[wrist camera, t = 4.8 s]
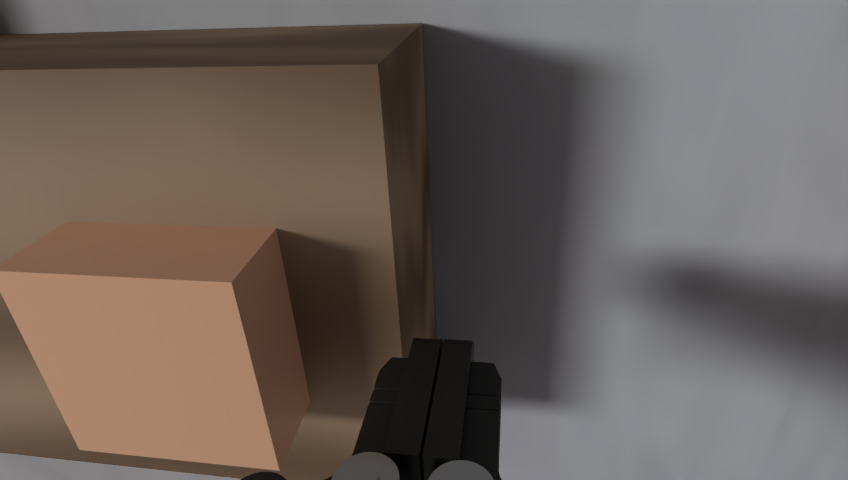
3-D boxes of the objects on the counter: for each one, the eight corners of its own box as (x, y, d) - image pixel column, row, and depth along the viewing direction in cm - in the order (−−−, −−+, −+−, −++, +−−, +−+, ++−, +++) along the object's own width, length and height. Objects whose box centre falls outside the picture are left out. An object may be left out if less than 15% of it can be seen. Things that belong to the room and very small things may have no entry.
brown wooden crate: (-31, 35, 19) (-233, 73, 14) (421, 23, 17) (377, 64, 12) (101, 348, 26) (-4, 452, 21) (437, 372, 24) (413, 497, 18)
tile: (66, 221, 15) (-11, 270, 13) (276, 228, 14) (231, 282, 12) (132, 387, 18) (79, 449, 16) (310, 402, 17) (279, 470, 15)
